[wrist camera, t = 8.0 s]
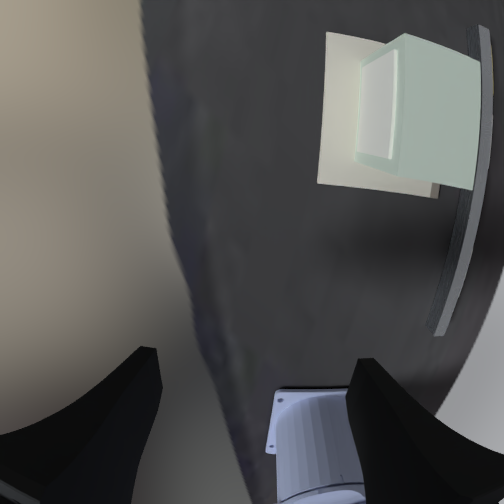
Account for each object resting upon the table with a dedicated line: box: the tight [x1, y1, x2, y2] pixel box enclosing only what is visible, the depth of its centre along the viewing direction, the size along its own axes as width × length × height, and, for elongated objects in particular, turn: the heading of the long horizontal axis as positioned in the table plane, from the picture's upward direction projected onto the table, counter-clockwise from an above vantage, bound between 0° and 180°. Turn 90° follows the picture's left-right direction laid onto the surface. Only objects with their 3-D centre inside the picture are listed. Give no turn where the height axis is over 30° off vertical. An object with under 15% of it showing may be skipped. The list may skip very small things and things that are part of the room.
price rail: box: [426, 24, 493, 336], centre depth 16 cm, size 22×1×2 cm, turn 177°
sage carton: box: [354, 33, 481, 190], centre depth 13 cm, size 4×6×6 cm
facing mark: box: [317, 32, 440, 199], centre depth 16 cm, size 9×8×1 cm
